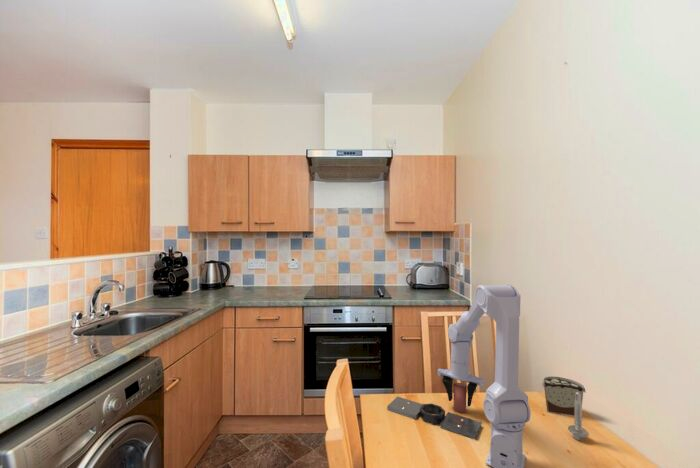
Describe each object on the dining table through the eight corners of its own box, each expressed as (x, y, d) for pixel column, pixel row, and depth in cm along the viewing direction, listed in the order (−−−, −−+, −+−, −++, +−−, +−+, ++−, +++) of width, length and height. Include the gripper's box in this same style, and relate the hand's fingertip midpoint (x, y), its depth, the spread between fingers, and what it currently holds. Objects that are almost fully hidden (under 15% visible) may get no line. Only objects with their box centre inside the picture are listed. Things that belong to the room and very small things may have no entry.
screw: (569, 440, 88) (566, 431, 92) (590, 445, 85) (587, 436, 90) (569, 393, 88) (566, 386, 92) (590, 397, 86) (586, 390, 90)
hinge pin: (464, 414, 100) (464, 389, 100) (452, 410, 102) (452, 386, 103) (467, 409, 103) (467, 384, 104) (455, 405, 106) (455, 381, 106)
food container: (577, 408, 105) (577, 378, 106) (586, 417, 100) (585, 386, 100) (536, 402, 109) (536, 373, 109) (542, 411, 103) (542, 381, 103)
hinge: (475, 439, 87) (475, 430, 87) (387, 409, 102) (387, 401, 102) (481, 426, 94) (481, 417, 94) (397, 399, 109) (397, 392, 109)
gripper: (485, 362, 103) (485, 403, 102) (442, 353, 111) (441, 391, 110) (481, 368, 97) (481, 413, 96) (435, 358, 105) (435, 399, 104)
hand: (459, 402), depth 103 cm, fingers open, 5 cm apart
